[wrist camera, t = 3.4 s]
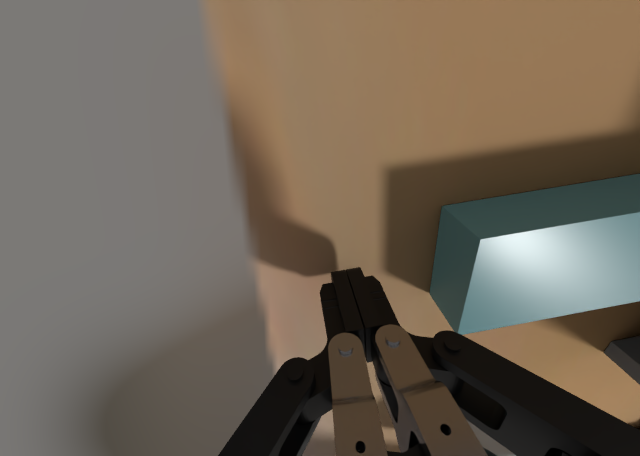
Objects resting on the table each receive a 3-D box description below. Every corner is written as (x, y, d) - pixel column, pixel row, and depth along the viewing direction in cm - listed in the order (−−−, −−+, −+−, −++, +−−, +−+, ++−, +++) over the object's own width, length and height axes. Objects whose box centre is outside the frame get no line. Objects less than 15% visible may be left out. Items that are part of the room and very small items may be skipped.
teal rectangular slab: (720, 160, 14) (819, 181, 11) (657, 252, 17) (724, 285, 14) (441, 205, 13) (480, 239, 11) (429, 293, 16) (457, 335, 14)
